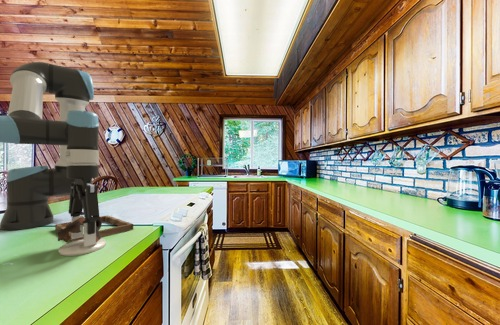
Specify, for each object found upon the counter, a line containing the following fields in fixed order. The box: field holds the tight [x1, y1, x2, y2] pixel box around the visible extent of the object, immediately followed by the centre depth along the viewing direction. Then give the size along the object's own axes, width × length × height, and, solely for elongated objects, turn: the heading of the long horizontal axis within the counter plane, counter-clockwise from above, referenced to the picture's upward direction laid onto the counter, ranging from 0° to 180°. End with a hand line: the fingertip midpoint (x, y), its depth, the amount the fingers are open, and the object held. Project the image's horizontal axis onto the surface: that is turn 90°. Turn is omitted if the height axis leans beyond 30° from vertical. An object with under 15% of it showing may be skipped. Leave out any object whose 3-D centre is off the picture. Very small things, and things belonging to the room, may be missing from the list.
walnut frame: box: [54, 215, 134, 242], centre depth 83 cm, size 22×17×2 cm
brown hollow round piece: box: [55, 216, 103, 243], centre depth 67 cm, size 12×10×8 cm
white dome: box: [58, 238, 107, 257], centre depth 66 cm, size 11×11×1 cm
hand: (83, 241), depth 66 cm, fingers closed on brown hollow round piece, 9 cm apart
